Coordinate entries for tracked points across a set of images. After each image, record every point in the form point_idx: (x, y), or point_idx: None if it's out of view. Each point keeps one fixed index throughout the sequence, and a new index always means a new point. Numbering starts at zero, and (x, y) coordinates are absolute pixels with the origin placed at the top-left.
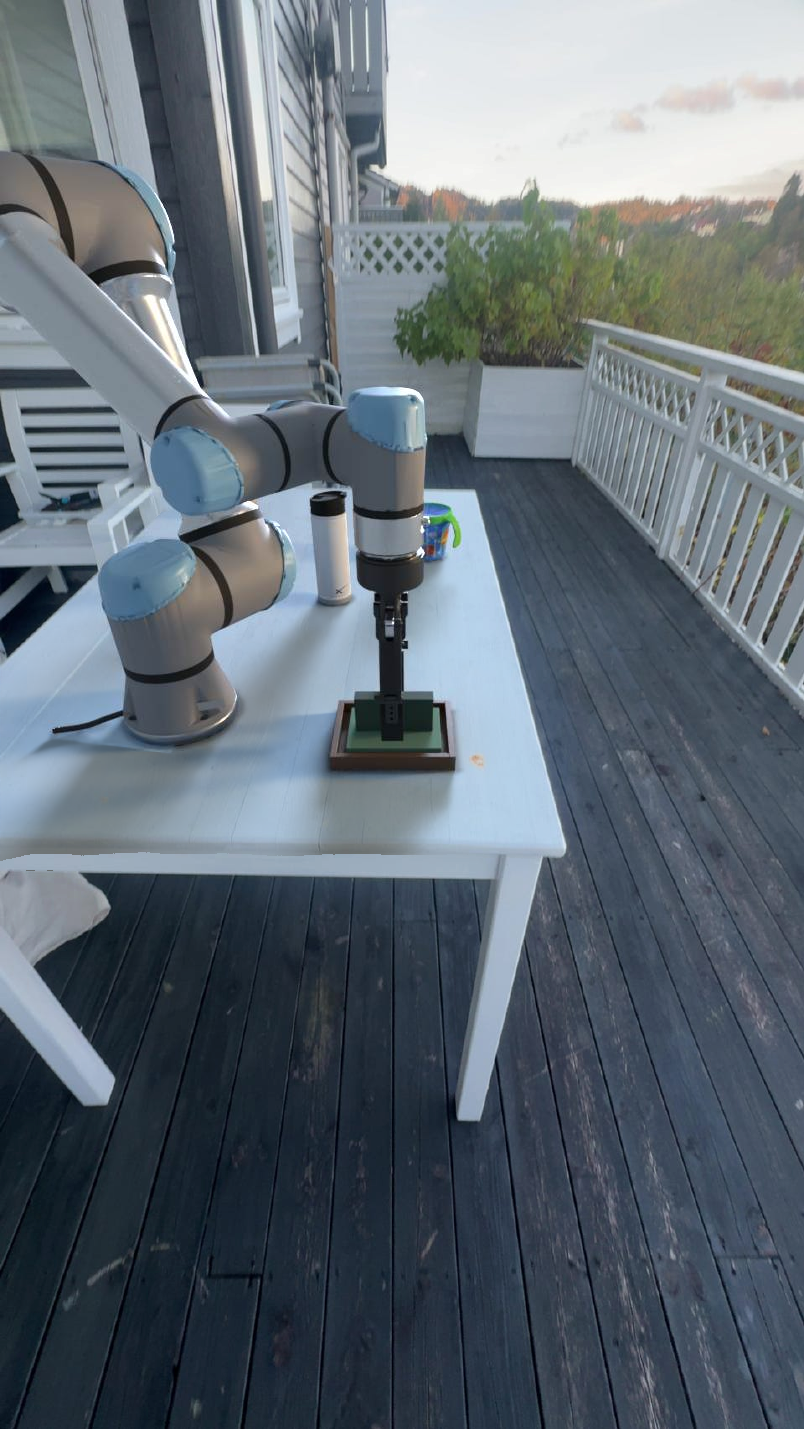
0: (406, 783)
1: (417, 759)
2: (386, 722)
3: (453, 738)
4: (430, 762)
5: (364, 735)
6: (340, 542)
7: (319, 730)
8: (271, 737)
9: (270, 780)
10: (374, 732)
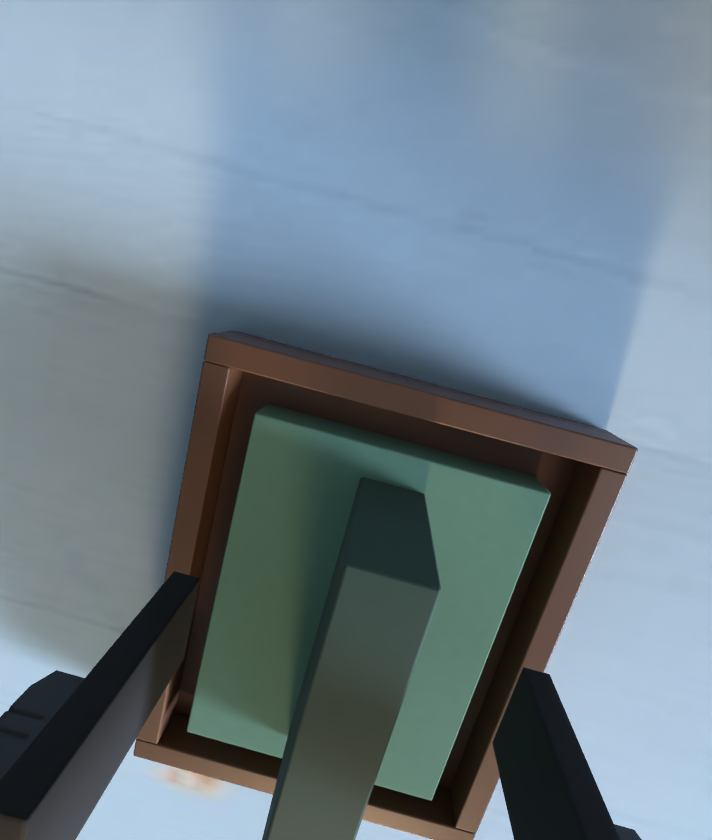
0: (122, 562)
1: None
2: (43, 679)
3: (232, 782)
4: None
5: (323, 502)
6: None
7: (503, 323)
8: (521, 89)
9: (216, 70)
10: (334, 544)
